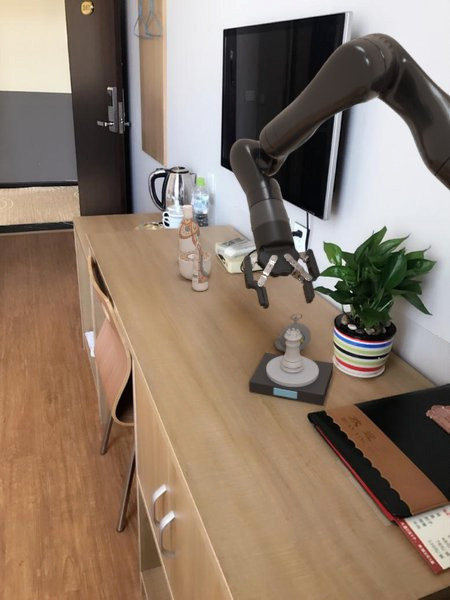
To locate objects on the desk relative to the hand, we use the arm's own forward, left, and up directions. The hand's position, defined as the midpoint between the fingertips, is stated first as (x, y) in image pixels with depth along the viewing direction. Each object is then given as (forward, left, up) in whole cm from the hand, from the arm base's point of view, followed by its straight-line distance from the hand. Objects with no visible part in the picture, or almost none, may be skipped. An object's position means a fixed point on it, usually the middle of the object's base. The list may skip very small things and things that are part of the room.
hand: (288, 304), depth 94 cm
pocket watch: (+1, -9, -16) cm, 18 cm away
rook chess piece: (-2, +2, -12) cm, 13 cm away
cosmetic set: (+37, -41, -16) cm, 58 cm away
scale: (-2, +3, -15) cm, 16 cm away
